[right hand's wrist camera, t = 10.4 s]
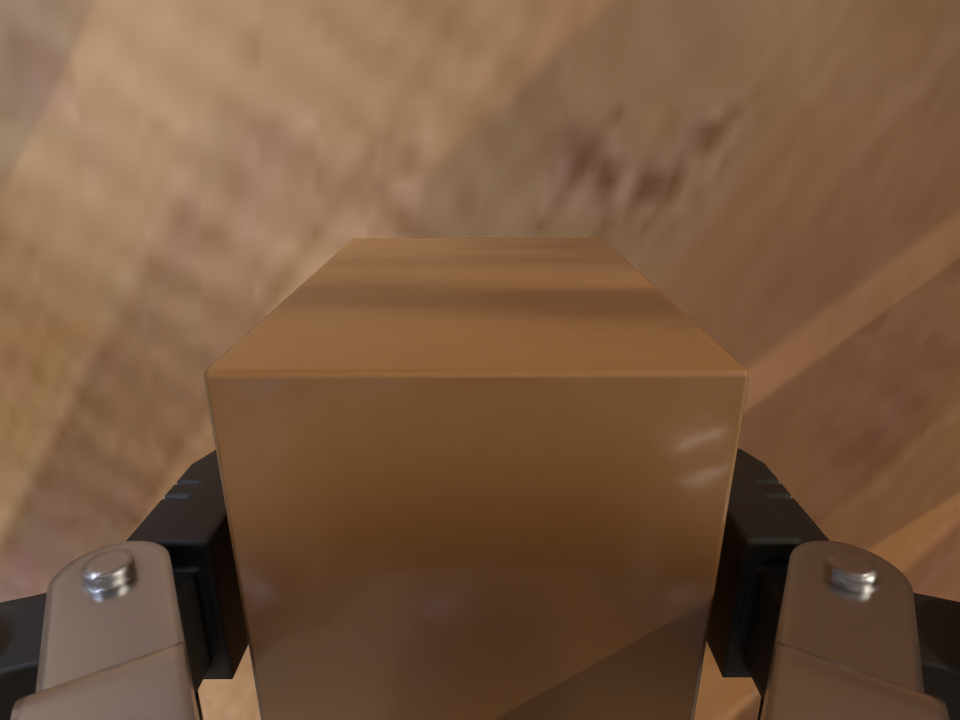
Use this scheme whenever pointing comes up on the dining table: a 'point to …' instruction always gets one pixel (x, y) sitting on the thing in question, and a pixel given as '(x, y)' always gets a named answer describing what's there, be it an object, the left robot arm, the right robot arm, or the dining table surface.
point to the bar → (476, 485)
